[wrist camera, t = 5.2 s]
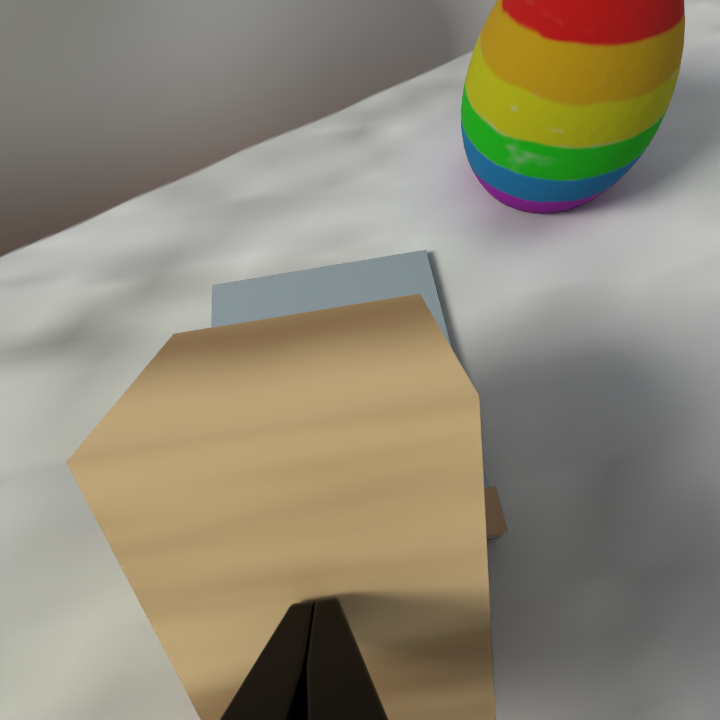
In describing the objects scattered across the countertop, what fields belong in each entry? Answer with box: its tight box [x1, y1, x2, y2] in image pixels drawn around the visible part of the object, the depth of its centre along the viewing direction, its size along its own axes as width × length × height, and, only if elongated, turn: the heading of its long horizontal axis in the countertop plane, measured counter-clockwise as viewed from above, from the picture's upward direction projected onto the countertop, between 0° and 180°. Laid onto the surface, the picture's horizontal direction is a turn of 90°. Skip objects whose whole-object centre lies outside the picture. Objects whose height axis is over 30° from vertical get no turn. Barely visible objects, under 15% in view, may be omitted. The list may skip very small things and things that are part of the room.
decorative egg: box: [461, 0, 685, 213], centre depth 19 cm, size 8×8×10 cm
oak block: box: [67, 294, 496, 720], centre depth 11 cm, size 5×6×10 cm
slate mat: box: [212, 250, 507, 539], centre depth 18 cm, size 12×10×2 cm
